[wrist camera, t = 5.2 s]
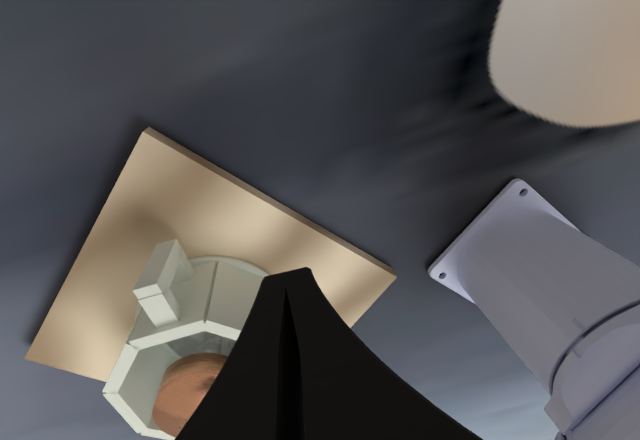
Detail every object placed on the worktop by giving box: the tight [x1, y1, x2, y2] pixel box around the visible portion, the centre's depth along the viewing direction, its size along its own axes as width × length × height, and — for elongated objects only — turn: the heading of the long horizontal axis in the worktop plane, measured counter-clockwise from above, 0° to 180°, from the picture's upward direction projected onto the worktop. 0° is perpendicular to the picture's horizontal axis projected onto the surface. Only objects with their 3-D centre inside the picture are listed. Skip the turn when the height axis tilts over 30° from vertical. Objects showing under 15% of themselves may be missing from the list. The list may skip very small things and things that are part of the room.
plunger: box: [152, 331, 236, 437], centre depth 18 cm, size 6×6×6 cm
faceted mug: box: [102, 239, 271, 440], centre depth 18 cm, size 11×9×5 cm
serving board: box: [25, 127, 397, 382], centre depth 21 cm, size 16×16×1 cm
